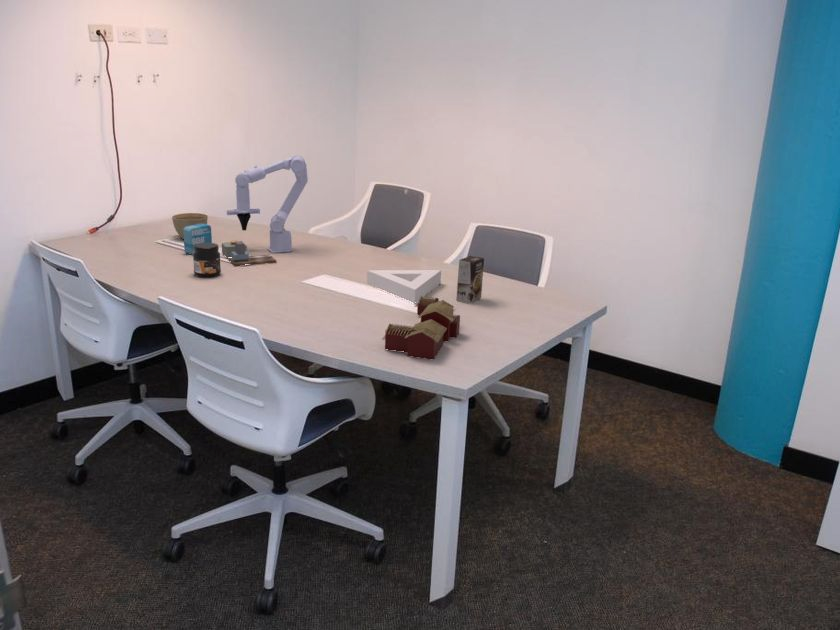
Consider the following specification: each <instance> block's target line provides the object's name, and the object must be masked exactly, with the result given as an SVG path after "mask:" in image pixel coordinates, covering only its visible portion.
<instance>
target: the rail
mask: <svg viewBox="0 0 840 630" xmlns="http://www.w3.org/2000/svg"><path fill="white" fill-rule="evenodd" d="M229 260H230V261H231V262H230V261H229ZM228 261H229V262H230V264H231V265H232V266H234V267H241V266H240V265H245V264H258V265H266V264H265V263H269V264H277V260H276V258H274V257H273V255H272V254H262V255H261V254H260V255H259V254H258V255H249V259H248V260H242V261H234V258H228Z"/></svg>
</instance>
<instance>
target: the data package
mask: <svg viewBox="0 0 840 630" xmlns="http://www.w3.org/2000/svg"><path fill="white" fill-rule="evenodd" d="M183 234H184V240H183V247H184V248H183V249H184V253H186V254H188V255H192V256H193V253H194V252H195V251H194V245H195V244H199V243H213V241H212V238H213V237H212V226H211V225H209V224H207V225H206V224H197V225H192V226H187V227H185V228H184V229H183Z"/></svg>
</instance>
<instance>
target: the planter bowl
mask: <svg viewBox="0 0 840 630" xmlns="http://www.w3.org/2000/svg"><path fill="white" fill-rule="evenodd" d="M171 219H172V223H173V228H174V229H175V231H176V233H177V235H179V236H180V239H181V238H182V239H184V234H183V229H184V228H185V227H187V226H192V225H197V224H206V225H208V219H209V218H208V214H204V213H199V212H195V213H194V212H187V213H178V214H175V215H174V214H173V215H172V217H171ZM182 239H181V240H182Z"/></svg>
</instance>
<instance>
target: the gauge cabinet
mask: <svg viewBox="0 0 840 630" xmlns="http://www.w3.org/2000/svg"><path fill="white" fill-rule="evenodd" d="M247 248H248V247H247V244H245V251H246V252H247V251H248V249H247ZM231 252H235V245H232V243H231V241H230V242H229V241H227V242H221V254H222V253H223V254H224V255H225V256H226V257H232V256H231ZM247 253H248V252H247ZM223 254H222V255H223ZM224 255H223V256H224ZM225 256H224V257H225ZM226 257H225V258H226Z"/></svg>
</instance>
